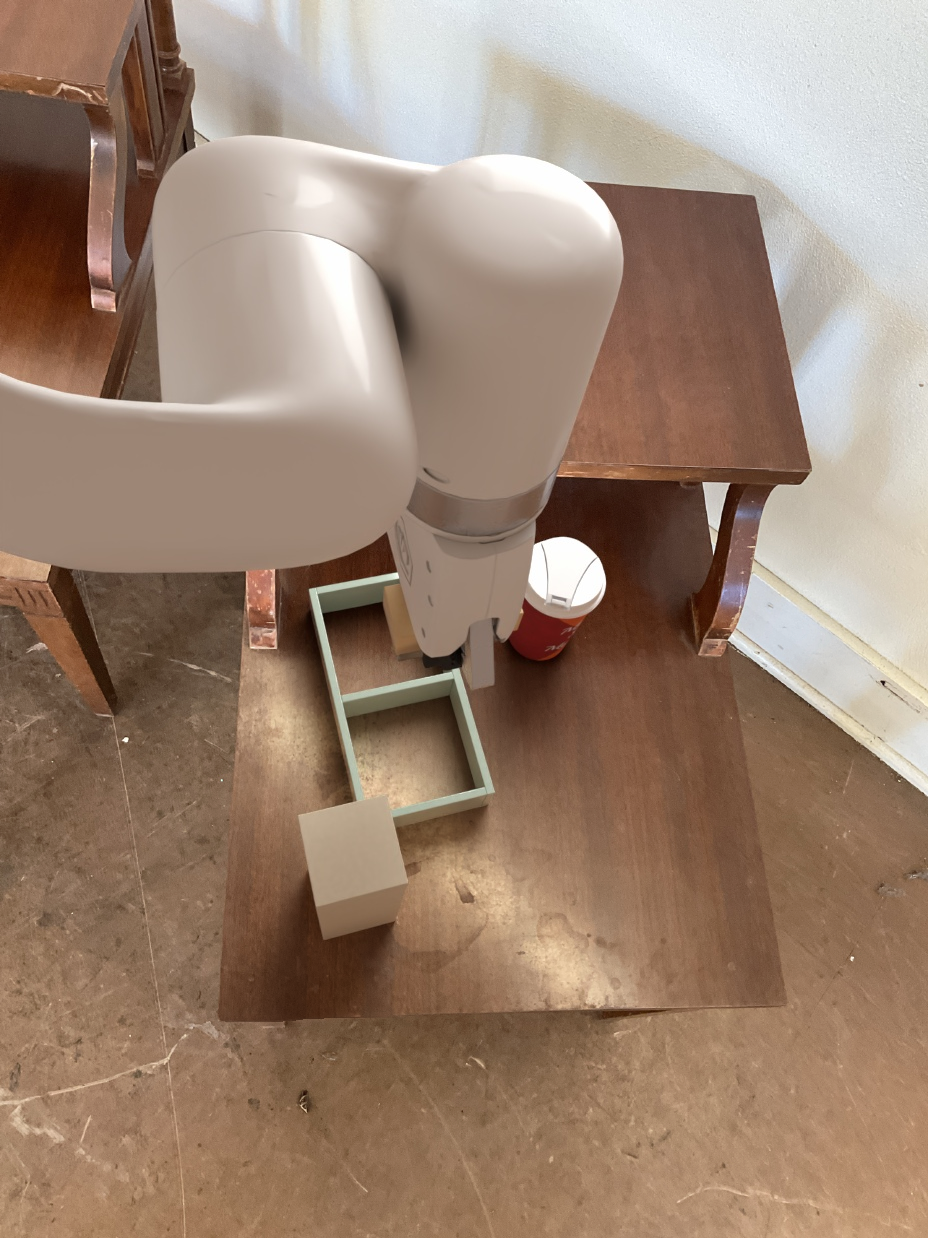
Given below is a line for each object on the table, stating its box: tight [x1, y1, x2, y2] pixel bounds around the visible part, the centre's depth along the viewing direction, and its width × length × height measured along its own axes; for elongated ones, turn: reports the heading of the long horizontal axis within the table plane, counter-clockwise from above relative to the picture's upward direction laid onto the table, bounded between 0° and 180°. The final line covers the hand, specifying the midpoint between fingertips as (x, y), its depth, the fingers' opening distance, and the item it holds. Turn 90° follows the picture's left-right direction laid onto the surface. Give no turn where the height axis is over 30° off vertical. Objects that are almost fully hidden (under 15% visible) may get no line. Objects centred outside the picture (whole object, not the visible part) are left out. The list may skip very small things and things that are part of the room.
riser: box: [297, 794, 409, 941], centre depth 68 cm, size 6×6×20 cm
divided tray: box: [308, 571, 496, 829], centre depth 82 cm, size 11×22×6 cm, turn 15°
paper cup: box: [508, 536, 607, 661], centre depth 83 cm, size 8×8×14 cm
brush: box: [382, 584, 523, 662], centre depth 54 cm, size 8×3×4 cm, turn 105°
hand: (439, 627), depth 55 cm, fingers closed on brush, 3 cm apart
